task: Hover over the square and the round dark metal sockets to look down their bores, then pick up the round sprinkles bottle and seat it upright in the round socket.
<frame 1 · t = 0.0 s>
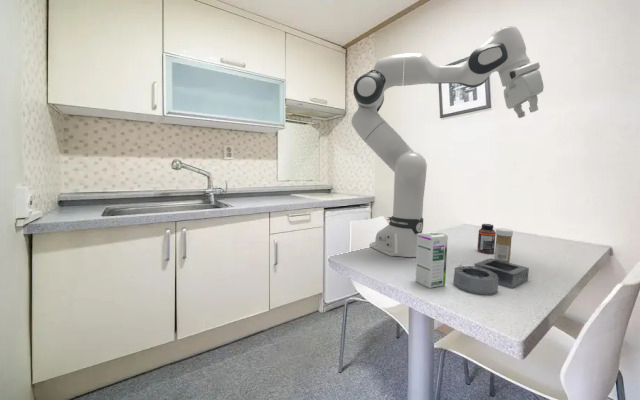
hand: (527, 114, 93), 52 cm above the table, tool tilted 20°, fingers open, 8 cm apart
square socket: (500, 278, 83), on the table
supplement bottle: (485, 252, 112), on the table
round socket: (474, 286, 77), on the table
syrup box: (429, 283, 78), on the table
sprinkles bottle: (500, 269, 92), on the table
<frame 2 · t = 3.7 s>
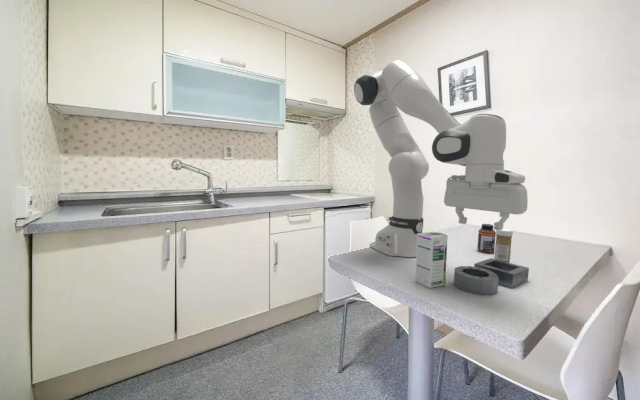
hand: (479, 226, 75), 17 cm above the table, tool pointing down, fingers open, 8 cm apart
nothing on the table moved.
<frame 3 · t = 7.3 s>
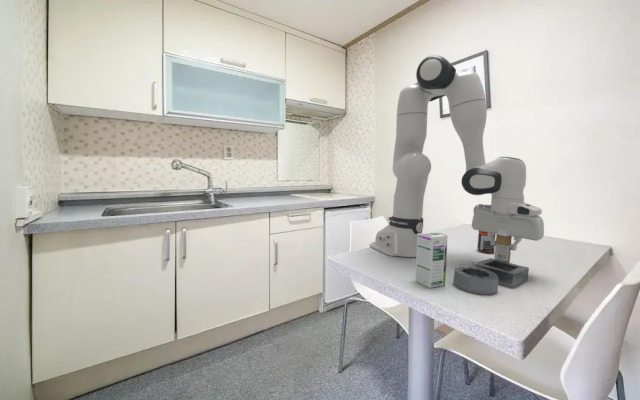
hand: (502, 247, 91), 7 cm above the table, tool pointing down, fingers closed on sprinkles bottle, 4 cm apart
sprinkles bottle: (501, 269, 92), on the table, touching gripper
everything else where it was.
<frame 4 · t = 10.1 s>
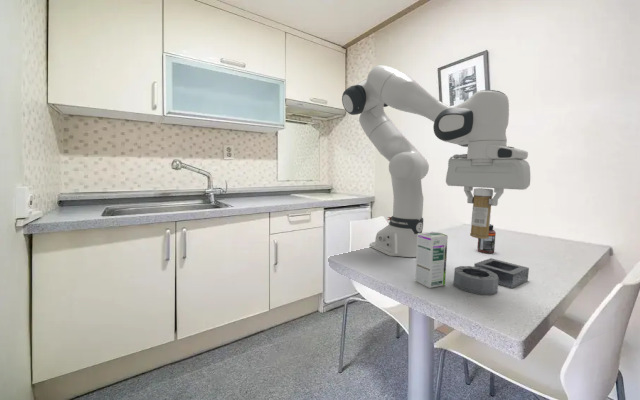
hand: (481, 204, 75), 23 cm above the table, tool pointing down, fingers closed on sprinkles bottle, 4 cm apart
sprinkles bottle: (478, 237, 76), point 14 cm above the table, touching gripper
everything else where it was.
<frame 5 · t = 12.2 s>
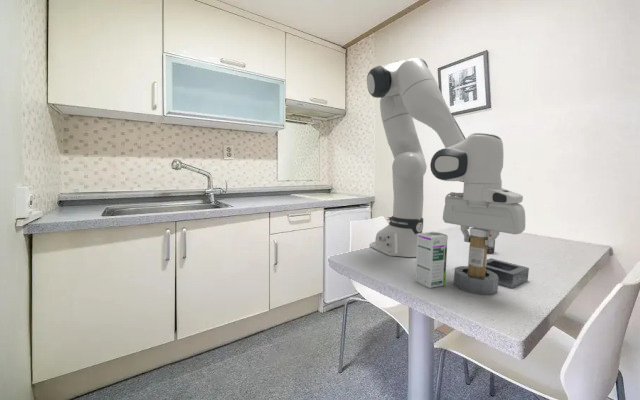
hand: (478, 244, 75), 12 cm above the table, tool pointing down, fingers closed on sprinkles bottle, 4 cm apart
sprinkles bottle: (475, 276, 76), point 3 cm above the table, touching gripper
everything else where it was.
when the fingers open (9 cm above the table, at t = 13.3 s): sprinkles bottle stays where it is, resting in round socket.
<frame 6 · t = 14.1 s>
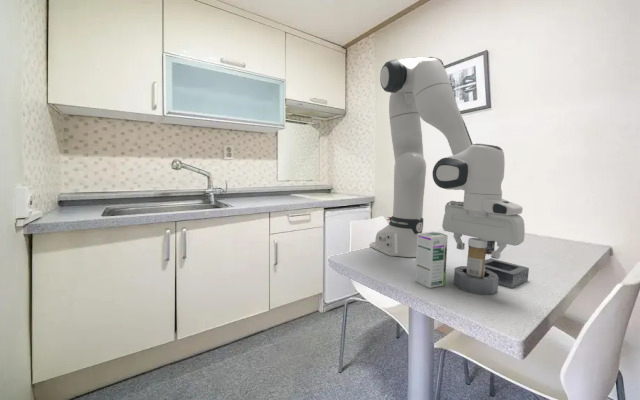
hand: (477, 253, 76), 9 cm above the table, tool pointing down, fingers open, 8 cm apart
sprinkles bottle: (473, 286, 77), resting in round socket
everything else where it was.
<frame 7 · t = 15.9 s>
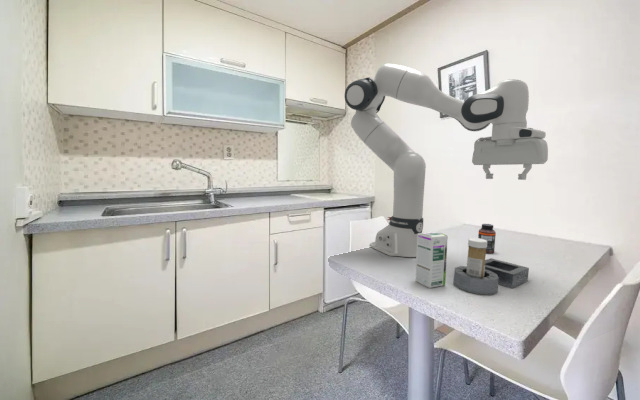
hand: (504, 179, 87), 30 cm above the table, tool pointing down, fingers open, 8 cm apart
nothing on the table moved.
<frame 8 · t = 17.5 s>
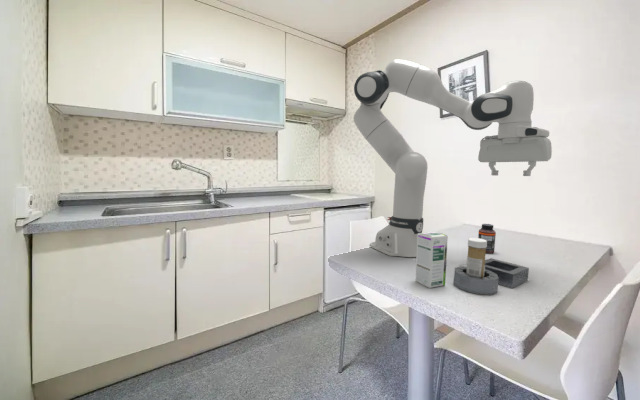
hand: (510, 175, 91), 31 cm above the table, tool pointing down, fingers open, 8 cm apart
nothing on the table moved.
at the end: sprinkles bottle 0.1 cm off-centre on the round socket, point 0.0 cm above the round socket's base; sprinkles bottle tilted 0°; the gripper is holding nothing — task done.
